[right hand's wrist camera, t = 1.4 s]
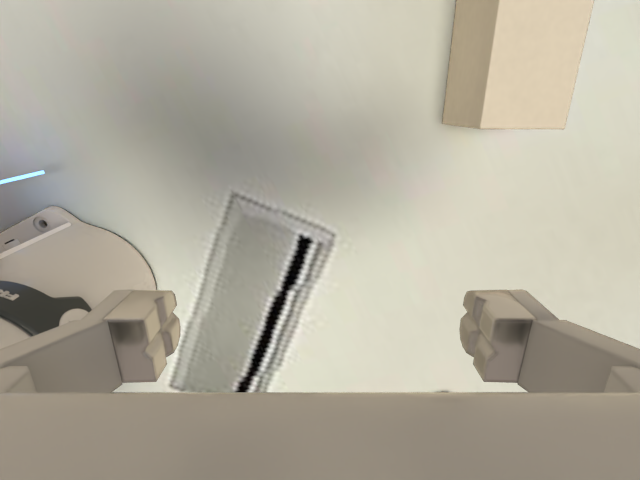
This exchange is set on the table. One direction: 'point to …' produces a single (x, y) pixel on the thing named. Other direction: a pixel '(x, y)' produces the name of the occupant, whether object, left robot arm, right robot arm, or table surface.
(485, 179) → the table surface
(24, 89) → the table surface
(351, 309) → the table surface
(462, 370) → the table surface
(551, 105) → the box
